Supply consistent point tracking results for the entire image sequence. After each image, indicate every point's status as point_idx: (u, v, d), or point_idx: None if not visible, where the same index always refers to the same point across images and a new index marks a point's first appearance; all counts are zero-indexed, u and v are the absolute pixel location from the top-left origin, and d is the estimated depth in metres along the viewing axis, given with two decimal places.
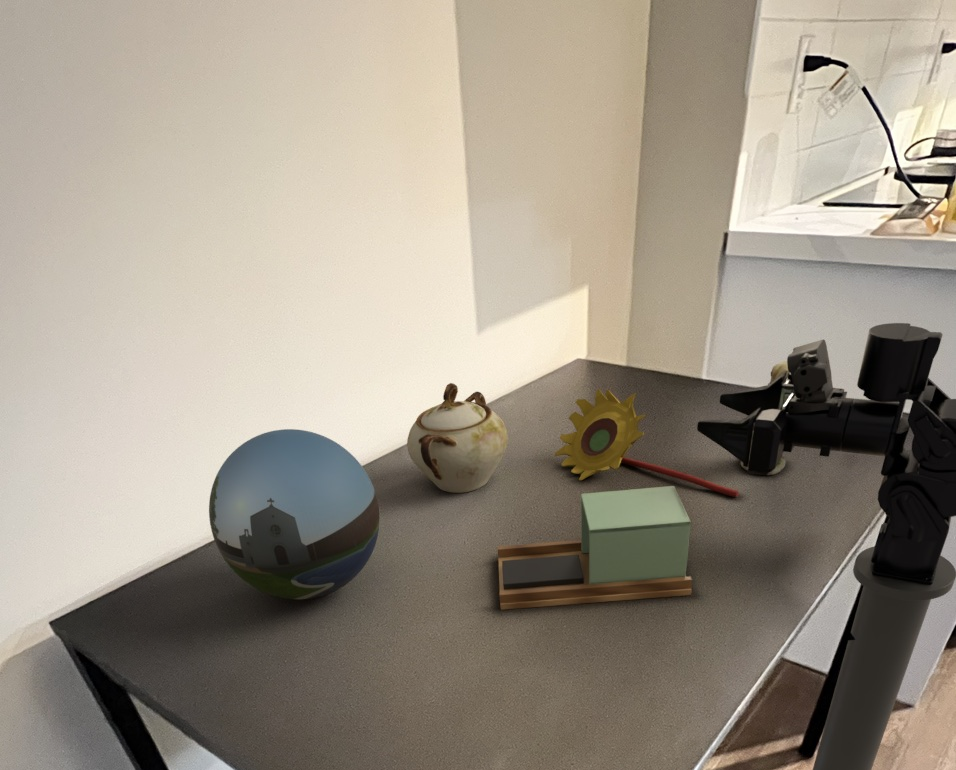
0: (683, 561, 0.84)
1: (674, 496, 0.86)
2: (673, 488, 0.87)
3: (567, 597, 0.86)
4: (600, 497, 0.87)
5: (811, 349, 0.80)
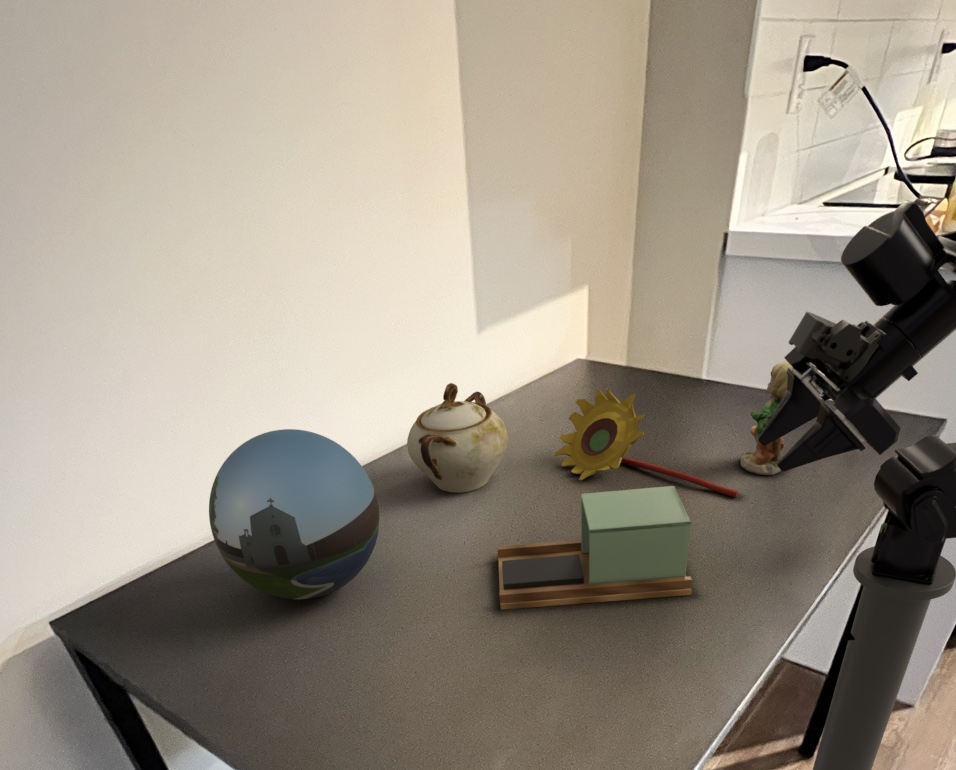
0: (683, 561, 0.84)
1: (674, 496, 0.86)
2: (673, 488, 0.87)
3: (567, 597, 0.86)
4: (600, 497, 0.87)
5: (813, 326, 0.71)
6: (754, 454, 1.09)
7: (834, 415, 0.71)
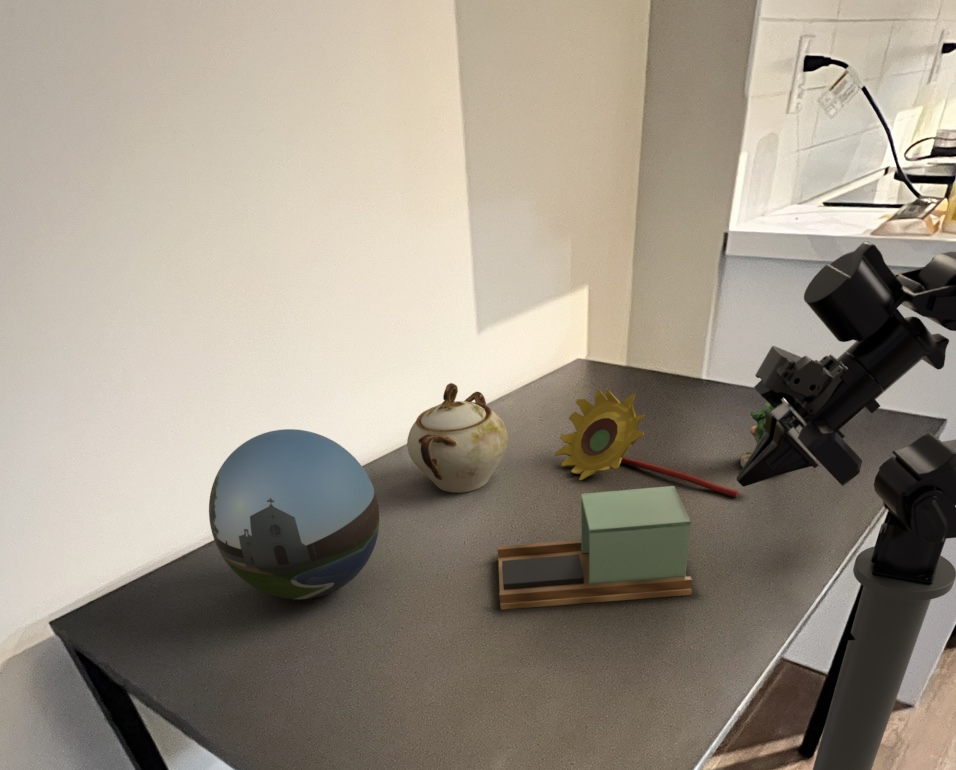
0: (683, 561, 0.84)
1: (674, 496, 0.86)
2: (673, 488, 0.87)
3: (567, 597, 0.86)
4: (600, 497, 0.87)
5: (777, 361, 0.73)
6: None
7: (787, 435, 0.76)
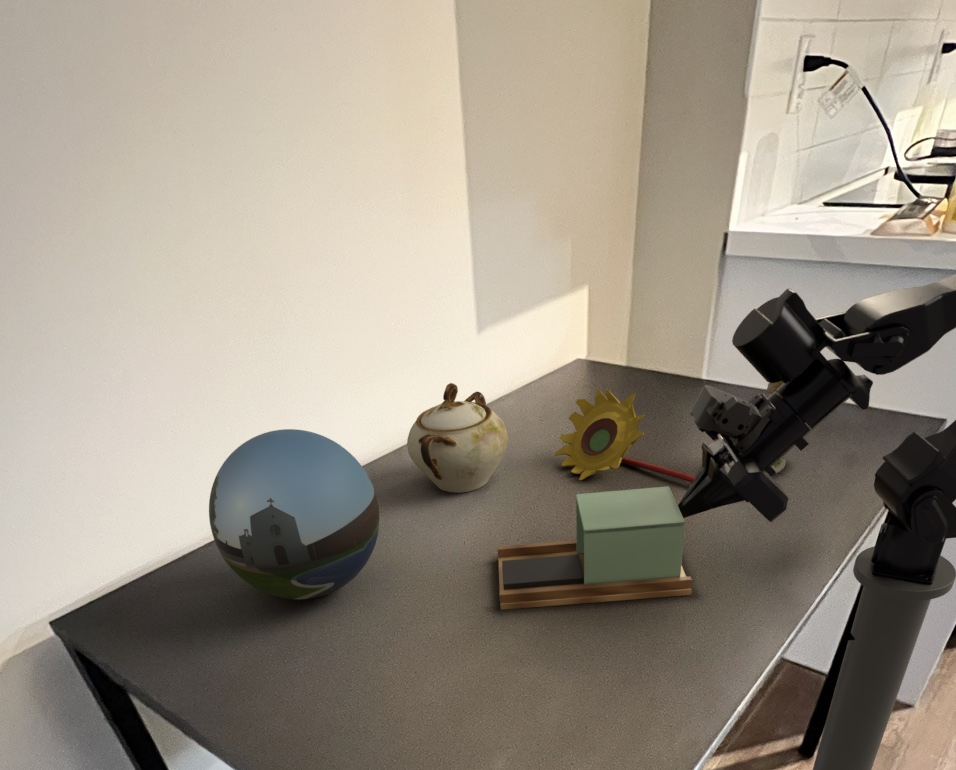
0: (678, 561, 0.84)
1: (669, 496, 0.86)
2: (668, 488, 0.87)
3: (567, 597, 0.86)
4: (595, 497, 0.87)
5: (708, 401, 0.76)
6: None
7: (719, 471, 0.78)
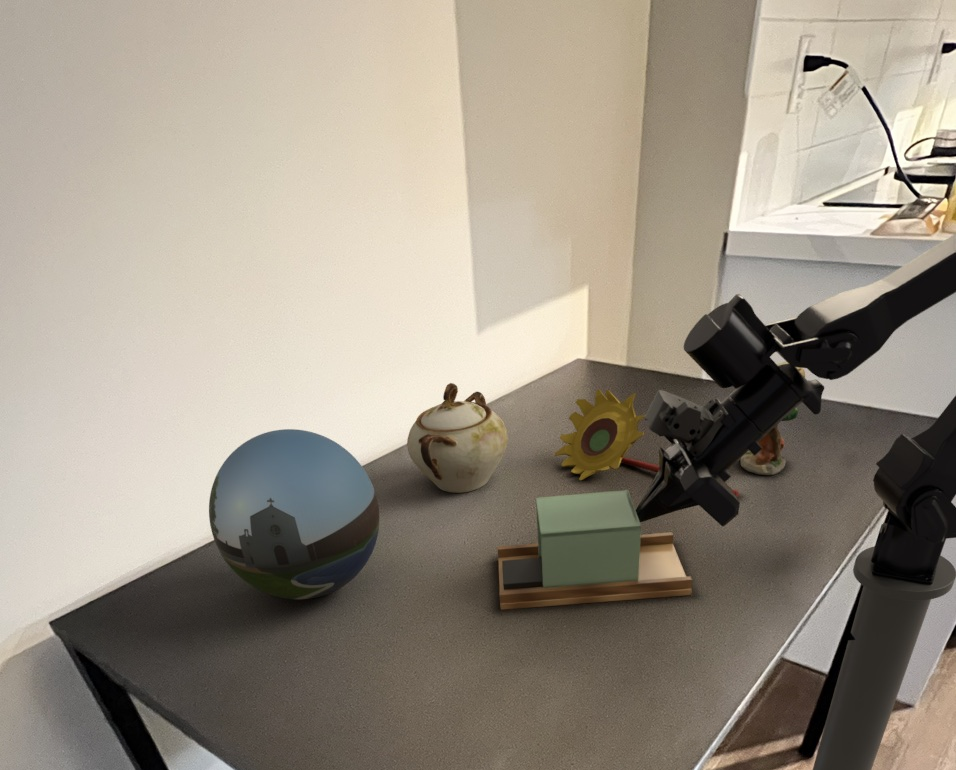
0: (635, 565, 0.84)
1: (627, 500, 0.86)
2: (627, 492, 0.88)
3: (567, 597, 0.86)
4: (554, 501, 0.88)
5: (660, 406, 0.76)
6: None
7: (673, 476, 0.79)
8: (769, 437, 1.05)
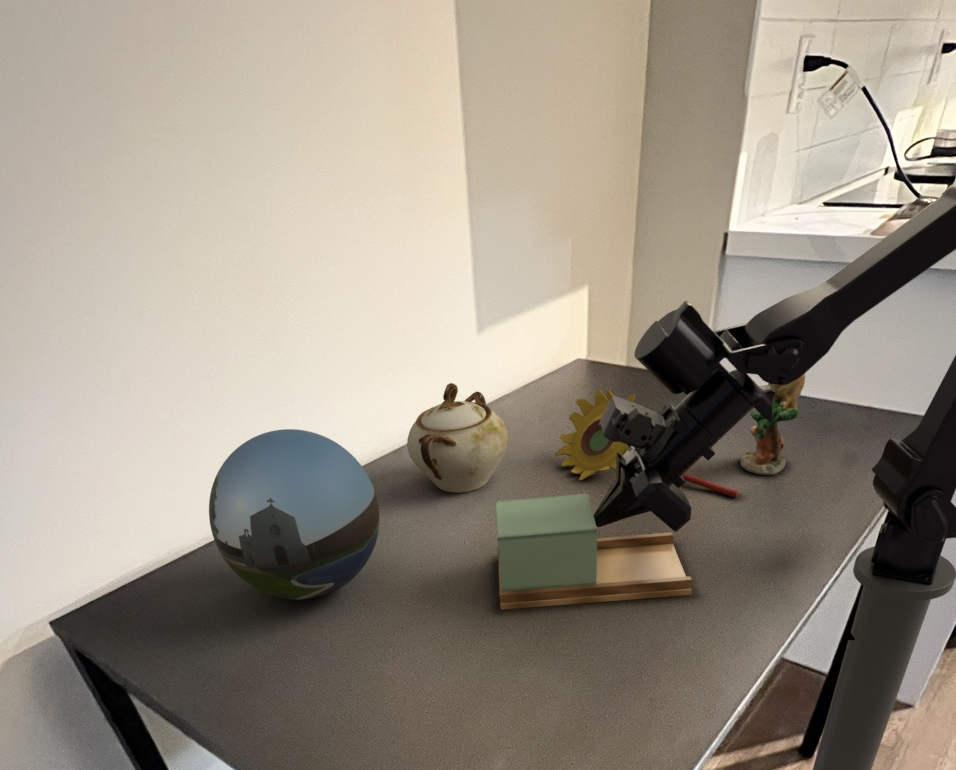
0: (593, 568, 0.85)
1: (586, 504, 0.86)
2: (586, 496, 0.88)
3: (567, 597, 0.86)
4: (514, 504, 0.88)
5: (612, 412, 0.76)
6: (754, 454, 1.09)
7: (628, 481, 0.79)
8: (769, 437, 1.05)
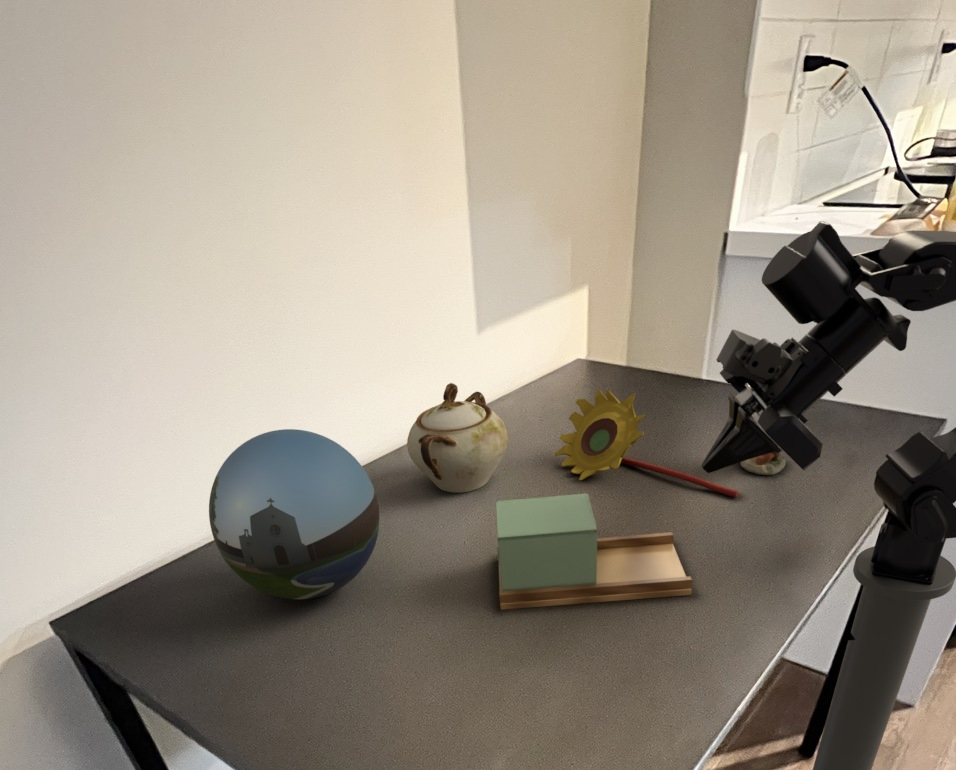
0: (593, 568, 0.85)
1: (586, 504, 0.86)
2: (586, 496, 0.88)
3: (567, 597, 0.86)
4: (514, 504, 0.88)
5: (736, 345, 0.72)
6: None
7: (749, 419, 0.75)
8: None
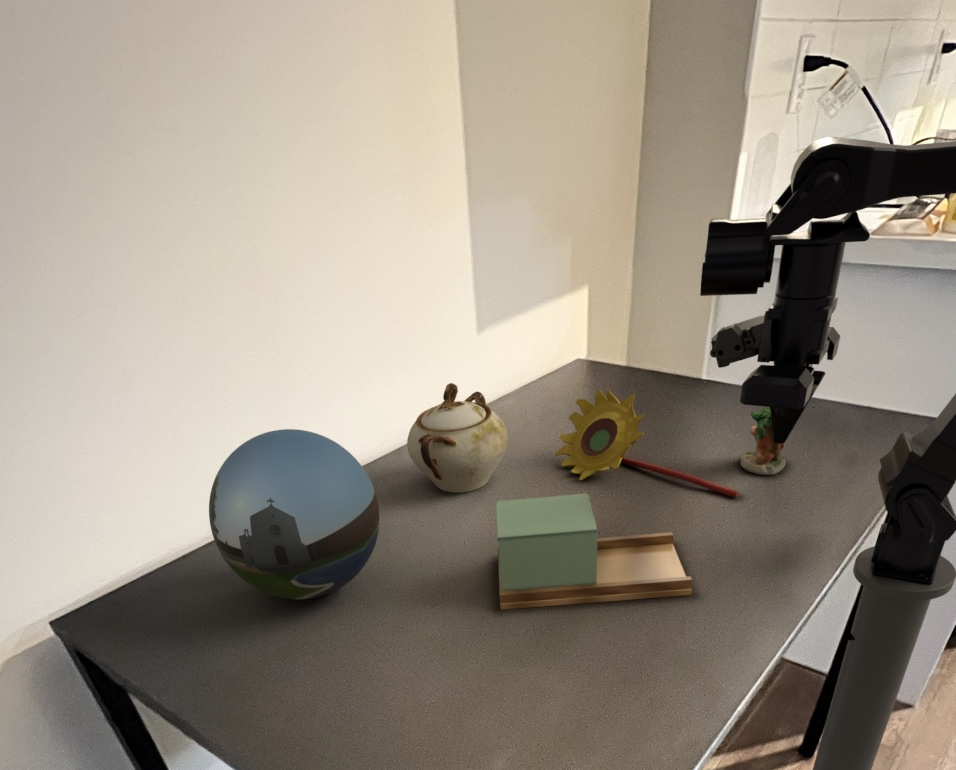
0: (593, 568, 0.85)
1: (586, 504, 0.86)
2: (586, 496, 0.88)
3: (567, 597, 0.86)
4: (514, 504, 0.88)
5: None
6: (754, 454, 1.09)
7: None
8: (769, 437, 1.05)
